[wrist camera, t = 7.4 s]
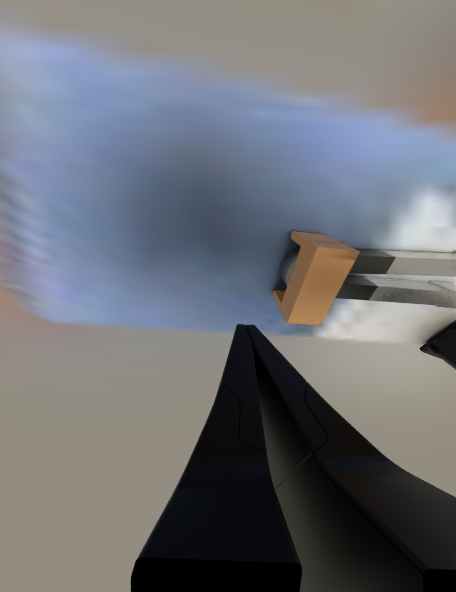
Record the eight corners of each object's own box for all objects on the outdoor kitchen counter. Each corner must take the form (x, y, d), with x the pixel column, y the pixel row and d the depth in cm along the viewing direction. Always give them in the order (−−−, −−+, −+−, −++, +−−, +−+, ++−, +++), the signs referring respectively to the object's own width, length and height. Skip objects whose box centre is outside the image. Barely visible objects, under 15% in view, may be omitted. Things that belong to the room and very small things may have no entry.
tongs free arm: (326, 266, 17) (337, 274, 16) (334, 245, 16) (347, 252, 14) (462, 271, 19) (484, 279, 17) (478, 252, 17) (503, 259, 16)
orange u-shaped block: (272, 295, 18) (287, 323, 15) (292, 230, 15) (317, 247, 11) (299, 296, 19) (320, 324, 15) (325, 234, 15) (360, 251, 12)
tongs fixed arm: (274, 285, 18) (281, 297, 16) (286, 243, 16) (296, 252, 14) (436, 297, 21) (458, 309, 19) (466, 263, 18) (495, 273, 16)
